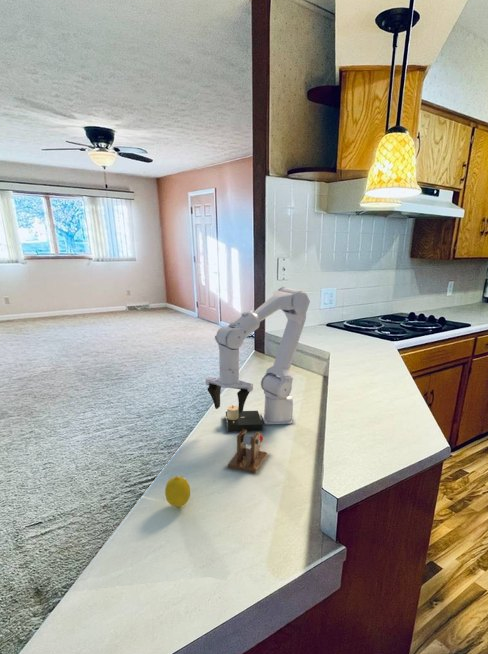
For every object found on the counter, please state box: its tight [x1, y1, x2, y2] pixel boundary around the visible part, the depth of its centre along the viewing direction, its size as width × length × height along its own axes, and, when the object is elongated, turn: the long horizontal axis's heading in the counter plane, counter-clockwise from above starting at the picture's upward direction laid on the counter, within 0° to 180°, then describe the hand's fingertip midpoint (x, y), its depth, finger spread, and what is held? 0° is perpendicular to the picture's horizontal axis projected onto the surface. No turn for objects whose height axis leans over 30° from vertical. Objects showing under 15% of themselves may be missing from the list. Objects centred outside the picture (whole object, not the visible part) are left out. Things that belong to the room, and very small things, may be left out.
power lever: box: [243, 433, 264, 446], centre depth 116 cm, size 12×3×3 cm, turn 166°
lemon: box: [164, 475, 191, 508], centre depth 93 cm, size 6×6×8 cm
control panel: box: [220, 410, 263, 433], centre depth 135 cm, size 13×11×3 cm
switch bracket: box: [227, 429, 268, 474], centre depth 113 cm, size 10×8×9 cm
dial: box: [226, 404, 238, 420], centre depth 134 cm, size 4×4×4 cm
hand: (229, 409), depth 126 cm, fingers open, 7 cm apart
